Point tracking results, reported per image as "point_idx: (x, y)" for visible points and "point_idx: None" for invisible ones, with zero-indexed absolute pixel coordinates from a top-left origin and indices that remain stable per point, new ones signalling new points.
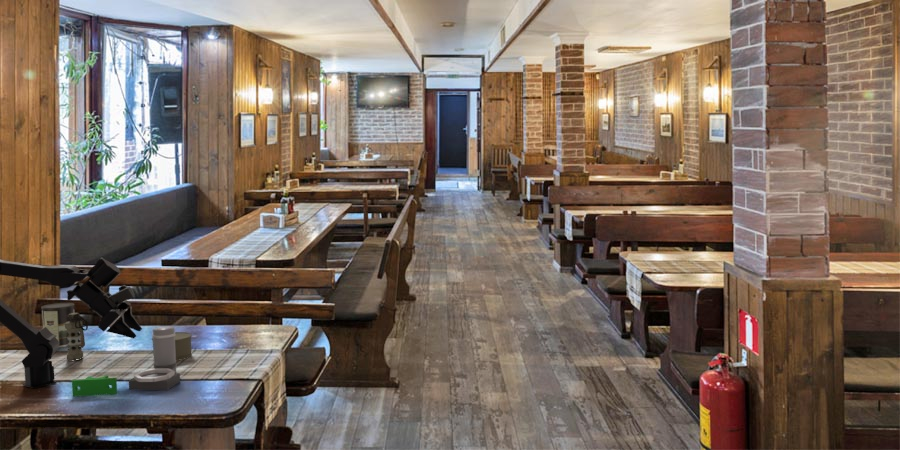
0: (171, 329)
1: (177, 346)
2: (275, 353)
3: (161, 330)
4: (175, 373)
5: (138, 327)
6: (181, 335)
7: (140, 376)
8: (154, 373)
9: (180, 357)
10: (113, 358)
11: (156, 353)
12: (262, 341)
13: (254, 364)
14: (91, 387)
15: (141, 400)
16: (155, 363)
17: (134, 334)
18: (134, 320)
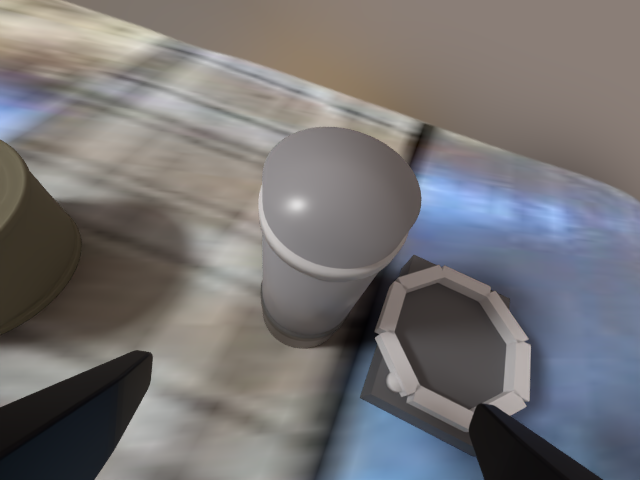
0: (387, 146)
1: (45, 214)
2: (210, 52)
3: (402, 197)
4: (418, 267)
5: (128, 388)
6: None
7: (500, 397)
8: (400, 340)
9: (73, 236)
10: None
11: (355, 302)
12: (39, 34)
13: (294, 101)
14: None
15: (599, 395)
16: (333, 326)
17: (513, 422)
18: (24, 449)
